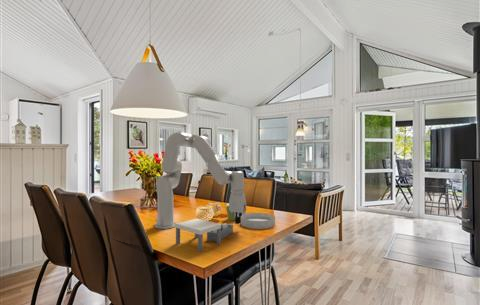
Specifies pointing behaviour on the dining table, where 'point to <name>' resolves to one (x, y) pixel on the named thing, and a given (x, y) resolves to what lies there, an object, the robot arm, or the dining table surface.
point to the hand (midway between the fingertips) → (238, 223)
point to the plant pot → (230, 214)
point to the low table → (198, 230)
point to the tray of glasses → (225, 231)
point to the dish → (257, 220)
